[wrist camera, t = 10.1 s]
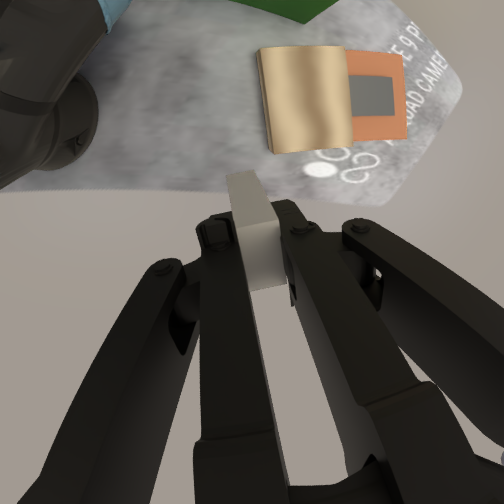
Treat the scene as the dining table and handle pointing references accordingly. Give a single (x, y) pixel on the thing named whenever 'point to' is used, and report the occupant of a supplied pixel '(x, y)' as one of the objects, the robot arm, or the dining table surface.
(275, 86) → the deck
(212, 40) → the dining table surface
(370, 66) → the mat
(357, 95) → the gray flat block
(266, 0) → the hardback book
